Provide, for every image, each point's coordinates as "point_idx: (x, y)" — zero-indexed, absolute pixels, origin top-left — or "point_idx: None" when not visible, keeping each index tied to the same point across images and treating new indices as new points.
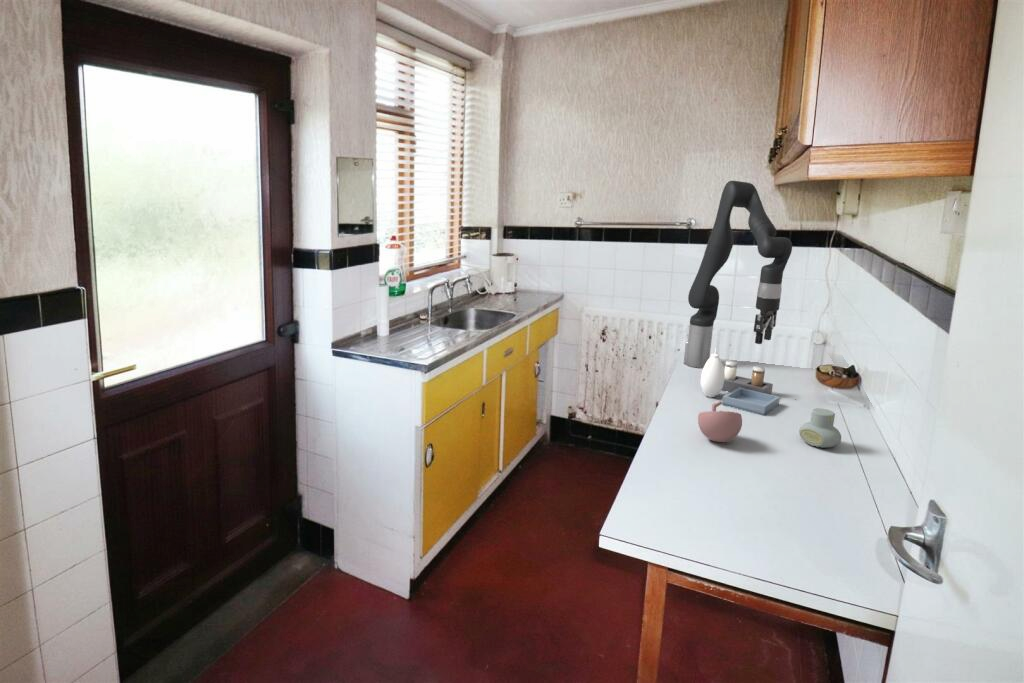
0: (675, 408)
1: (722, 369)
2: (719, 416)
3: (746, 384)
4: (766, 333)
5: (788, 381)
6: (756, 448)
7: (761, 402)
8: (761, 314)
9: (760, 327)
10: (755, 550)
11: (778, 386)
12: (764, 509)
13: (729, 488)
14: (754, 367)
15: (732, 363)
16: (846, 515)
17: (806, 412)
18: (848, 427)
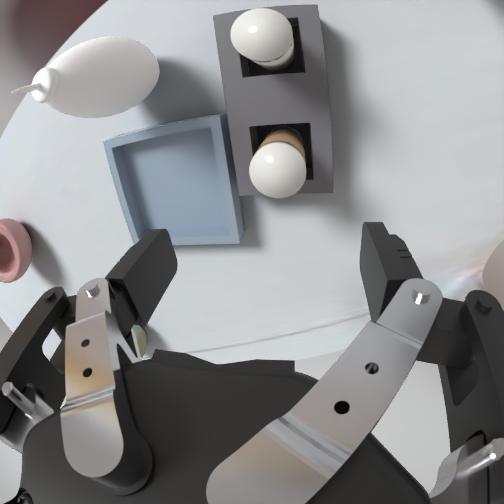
0: (34, 105)
1: (84, 115)
2: None
3: (241, 130)
4: (375, 266)
5: (489, 178)
6: (51, 276)
7: (204, 200)
8: (40, 466)
9: (54, 360)
10: (2, 312)
11: (430, 168)
12: (16, 308)
13: (6, 284)
14: (264, 154)
15: (237, 50)
16: (56, 347)
17: (252, 287)
18: (235, 347)
